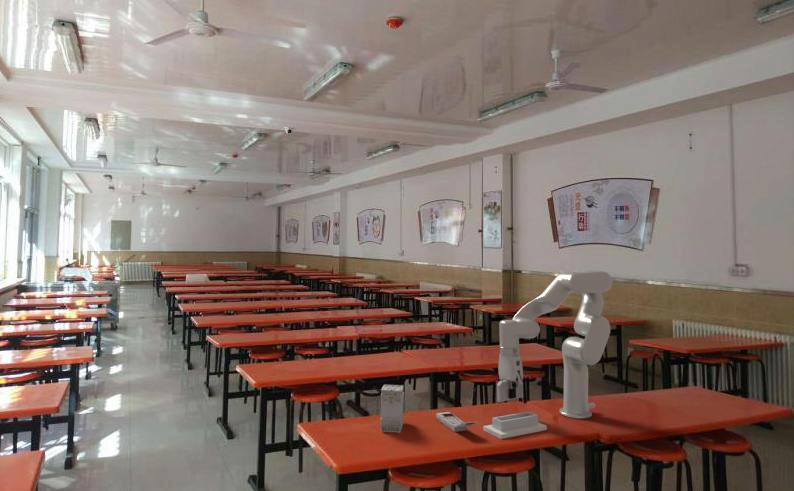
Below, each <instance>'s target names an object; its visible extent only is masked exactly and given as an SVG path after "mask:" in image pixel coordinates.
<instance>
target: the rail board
mask: <svg viewBox="0 0 794 491" xmlns="http://www.w3.org/2000/svg"><path fill="white" fill-rule="evenodd" d="M491 421H492V422H491V423H492V424H488V425H483V427H482V429H483V431H484V432H485V433H488V434H490V435H492V436H494V437H496V438H498V439H500V440H503V439H508V438H512V437H518V436H523V435H528V434H533V433H538V432H542V431H547V430H548V425H546V424H543V423H541V422H539V416H538V415H537V414H536V413H534V412H531V411H524V412H518V413H512V414H507V415H506V414H505V415H501V416H496V417H495V416H494V417H492V419H491Z"/></svg>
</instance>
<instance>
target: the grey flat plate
mask: <svg viewBox="0 0 794 491" xmlns="http://www.w3.org/2000/svg"><path fill="white" fill-rule="evenodd" d="M513 383H514V382H513ZM521 383H522V384H521V385H518V386H517V388H516V398H513V399H509V388H510V381H509V380H503V381H502V380H499V381H498V382H497V384H496V401H497V402H498V403H503V402H505V401H510V400H511V401H512V400H516V399H523V398H524V381H523V380H521Z"/></svg>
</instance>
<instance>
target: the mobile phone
mask: <svg viewBox="0 0 794 491" xmlns="http://www.w3.org/2000/svg"><path fill="white" fill-rule="evenodd" d="M435 416H436V419H437V420H438V423H442V425H445V427H447V428H448V429H449V430H451V431H453V432H454V433H456V432H464V431H467V427H470V426H473V425H475V424H477V423H478V421H471V422H470V421H469V422H465V421H463V420H461V419H460V418H458V417H457V415H455V414H454V413H451V412H450V411H447V412H437V413H435Z"/></svg>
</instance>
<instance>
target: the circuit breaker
mask: <svg viewBox="0 0 794 491" xmlns="http://www.w3.org/2000/svg"><path fill="white" fill-rule="evenodd" d="M380 391H381V393H380V403H381V404H380V405H381V406H380V430H379V432H381V433H382V432H384V433H386V432H387V433H399V434H400V433H401V432H402V428H403V426H404V423H403V422H404V419H403V418H404V412H405V392H404V384H400V385H399V384H383V386H381V390H380Z"/></svg>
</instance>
